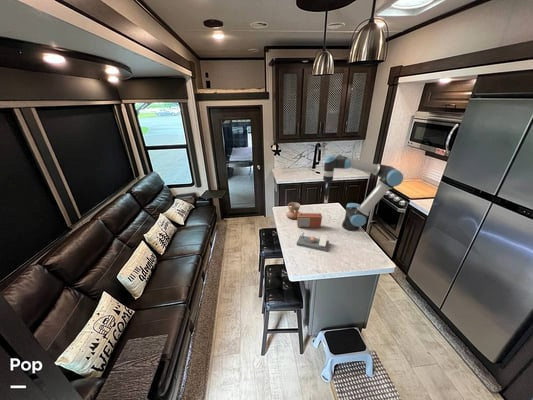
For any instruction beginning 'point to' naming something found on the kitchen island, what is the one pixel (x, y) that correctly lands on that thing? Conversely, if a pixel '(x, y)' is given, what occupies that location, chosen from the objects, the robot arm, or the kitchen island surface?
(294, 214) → the ceramic jug
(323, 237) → the rocker switch
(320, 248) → the switch panel
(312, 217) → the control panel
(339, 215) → the kitchen island surface
